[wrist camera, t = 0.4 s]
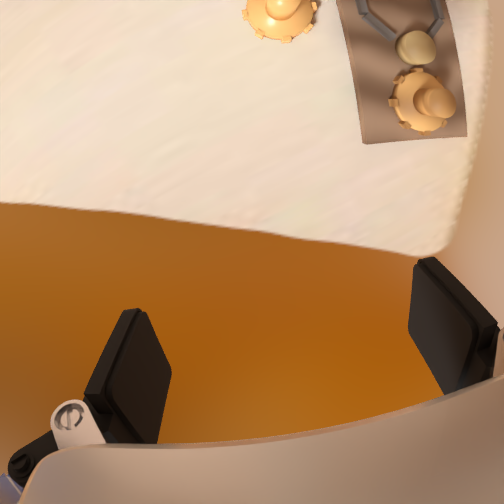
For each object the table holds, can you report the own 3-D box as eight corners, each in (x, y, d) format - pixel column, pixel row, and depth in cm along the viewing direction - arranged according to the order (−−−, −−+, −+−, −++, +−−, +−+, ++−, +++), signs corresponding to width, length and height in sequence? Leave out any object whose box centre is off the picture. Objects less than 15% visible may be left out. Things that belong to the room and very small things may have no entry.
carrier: (324, -39, 25) (340, -65, 19) (429, -30, 24) (458, -45, 18) (362, 142, 35) (388, 152, 29) (460, 135, 34) (495, 144, 28)
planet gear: (236, -12, 27) (234, -31, 22) (306, -20, 27) (316, -39, 21) (249, 48, 31) (250, 37, 25) (320, 39, 30) (334, 28, 25)
